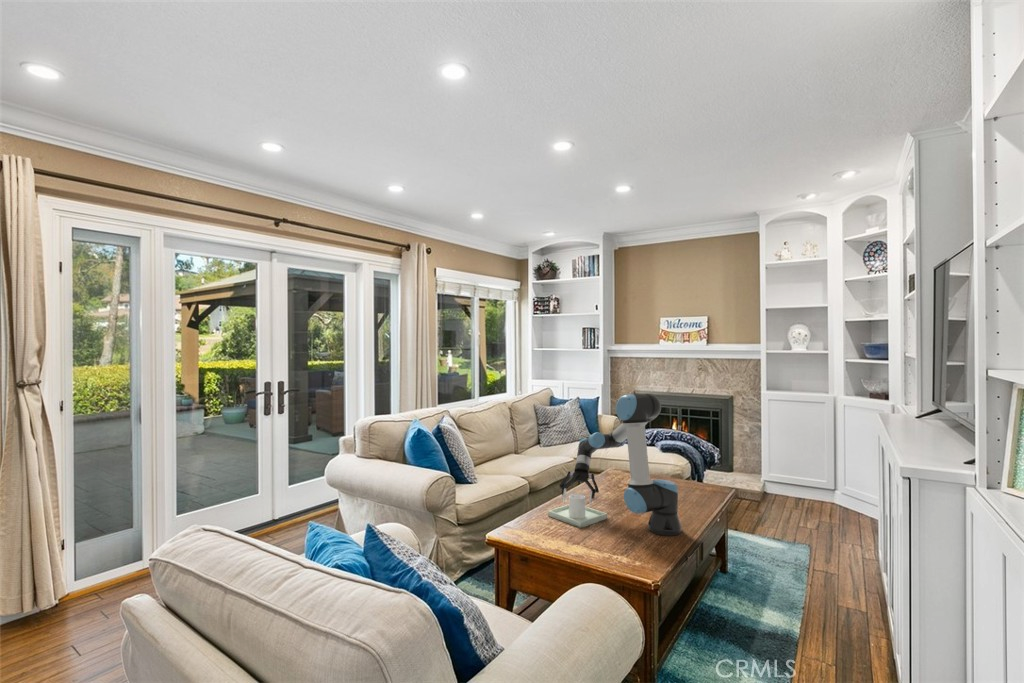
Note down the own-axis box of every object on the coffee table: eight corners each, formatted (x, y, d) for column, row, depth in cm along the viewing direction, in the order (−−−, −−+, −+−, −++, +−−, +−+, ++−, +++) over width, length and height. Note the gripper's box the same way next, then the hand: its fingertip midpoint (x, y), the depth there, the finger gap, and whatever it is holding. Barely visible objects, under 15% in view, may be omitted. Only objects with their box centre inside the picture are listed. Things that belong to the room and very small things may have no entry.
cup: (568, 518, 252) (568, 498, 252) (569, 510, 264) (569, 491, 263) (585, 519, 250) (585, 499, 250) (585, 511, 262) (585, 491, 262)
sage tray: (607, 518, 255) (607, 513, 255) (580, 528, 242) (580, 522, 242) (574, 507, 272) (574, 502, 272) (547, 515, 259) (547, 510, 259)
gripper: (606, 471, 268) (602, 509, 254) (560, 467, 276) (553, 503, 262) (605, 463, 263) (600, 501, 249) (558, 459, 271) (551, 496, 257)
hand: (576, 502), depth 255 cm, fingers open, 13 cm apart
